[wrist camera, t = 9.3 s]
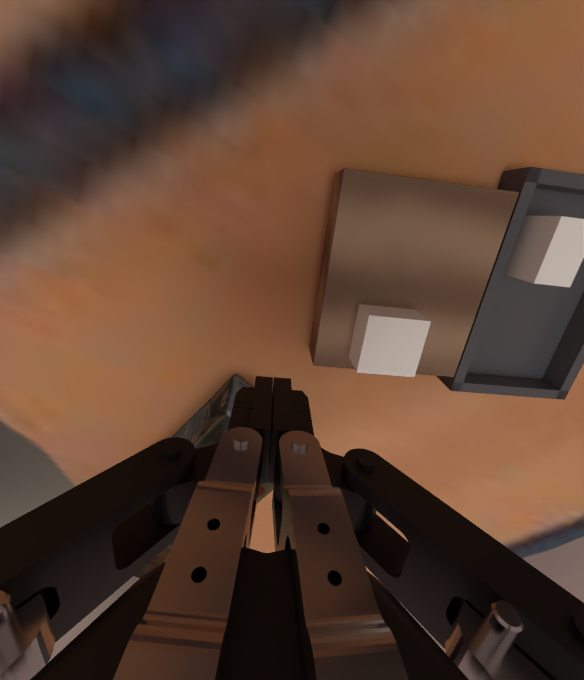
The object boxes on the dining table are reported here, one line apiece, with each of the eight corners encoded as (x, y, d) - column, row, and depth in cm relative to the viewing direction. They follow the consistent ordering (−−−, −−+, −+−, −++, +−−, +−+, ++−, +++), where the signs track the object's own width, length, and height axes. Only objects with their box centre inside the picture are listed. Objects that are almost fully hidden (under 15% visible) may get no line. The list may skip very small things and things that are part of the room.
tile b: (359, 304, 21) (369, 315, 19) (415, 309, 22) (431, 321, 20) (348, 356, 23) (356, 372, 21) (400, 360, 23) (414, 377, 21)
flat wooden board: (335, 173, 21) (344, 168, 18) (488, 194, 22) (519, 192, 19) (309, 348, 26) (313, 365, 23) (435, 359, 27) (453, 376, 24)
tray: (503, 171, 21) (530, 166, 19) (634, 190, 22) (675, 187, 20) (436, 375, 27) (450, 390, 25) (541, 384, 28) (564, 399, 26)
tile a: (561, 216, 18) (600, 221, 18) (513, 215, 22) (546, 219, 22) (534, 283, 20) (570, 287, 20) (493, 271, 23) (524, 275, 24)
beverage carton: (302, 420, 29) (308, 476, 23) (178, 528, 34) (156, 598, 28) (236, 369, 27) (223, 416, 21) (113, 492, 32) (73, 560, 25)
